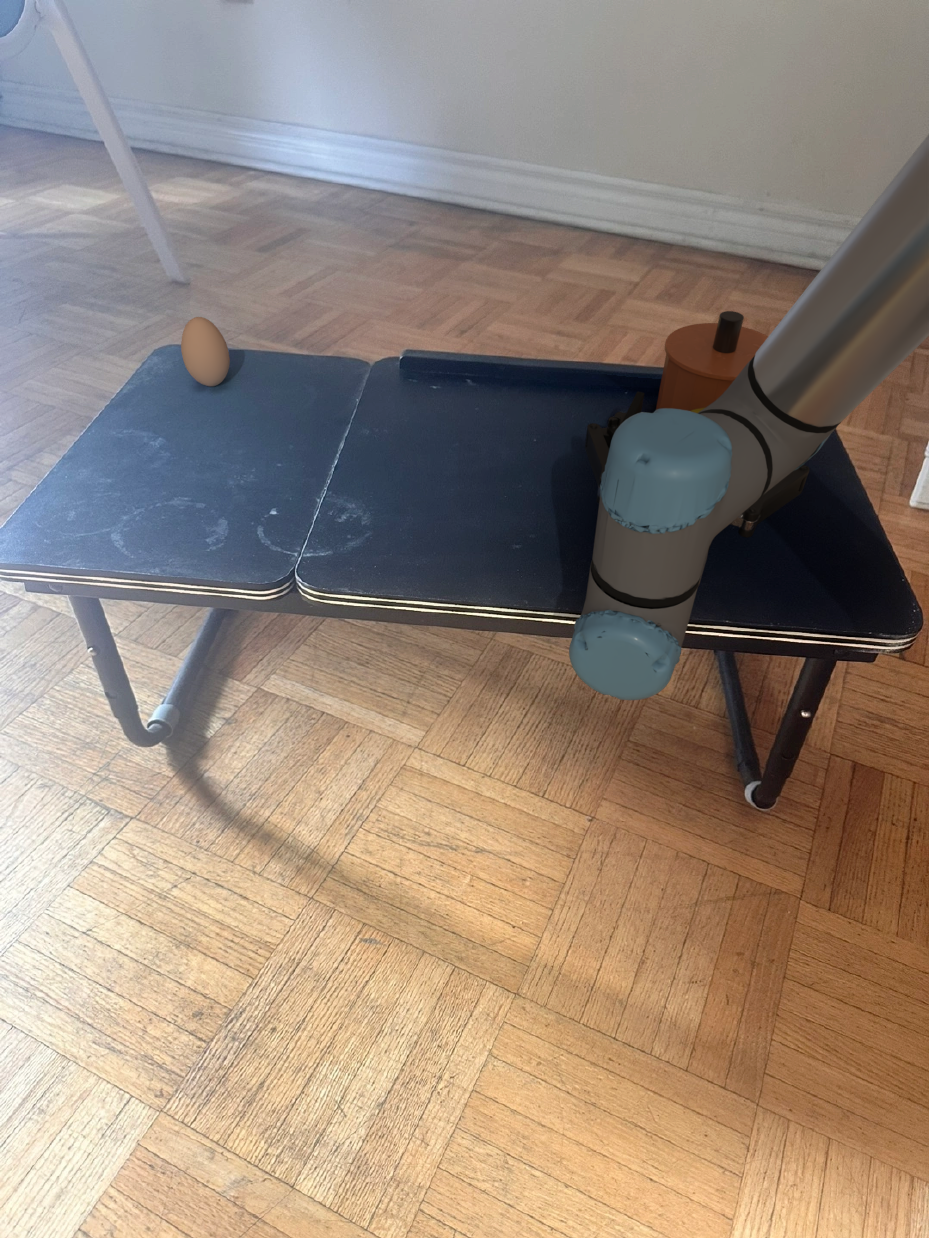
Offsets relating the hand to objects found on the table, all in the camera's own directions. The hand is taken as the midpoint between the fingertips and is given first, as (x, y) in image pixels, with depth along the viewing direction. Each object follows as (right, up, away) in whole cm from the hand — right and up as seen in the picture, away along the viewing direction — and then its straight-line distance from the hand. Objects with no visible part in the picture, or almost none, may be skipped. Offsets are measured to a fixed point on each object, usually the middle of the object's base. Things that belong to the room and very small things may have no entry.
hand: (706, 417), depth 81 cm
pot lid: (+3, +8, +5) cm, 10 cm away
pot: (+3, +2, +11) cm, 12 cm away
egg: (-54, +8, +17) cm, 58 cm away
